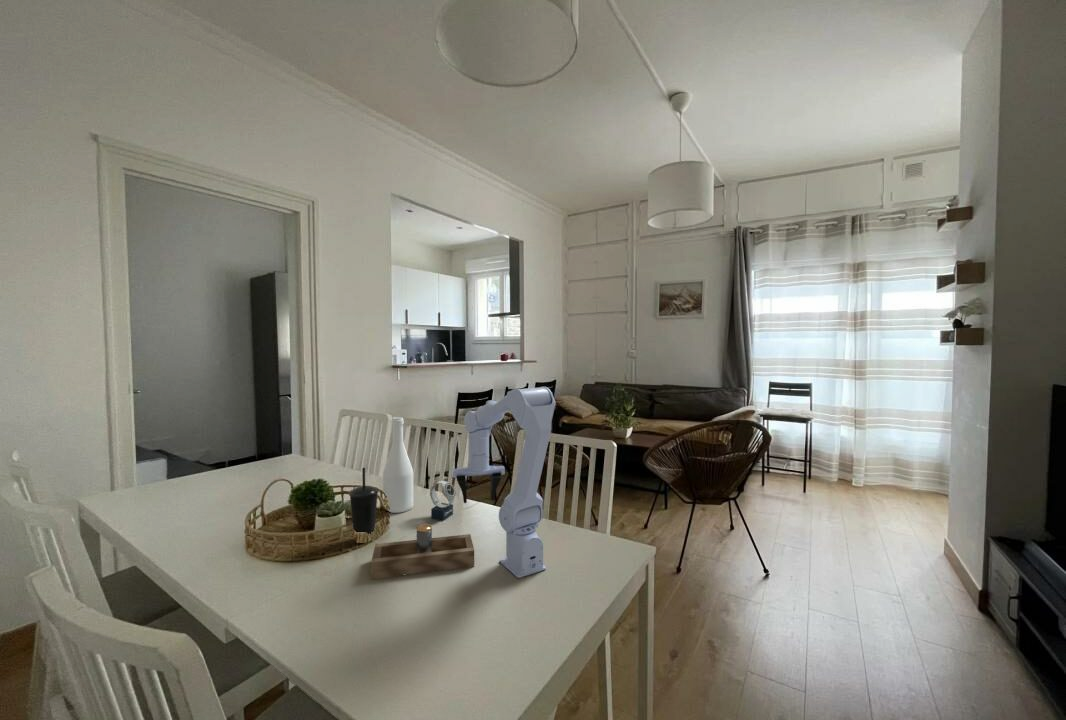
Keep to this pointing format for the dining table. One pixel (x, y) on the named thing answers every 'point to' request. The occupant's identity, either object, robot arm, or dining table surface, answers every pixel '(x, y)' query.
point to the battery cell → (424, 538)
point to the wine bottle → (398, 472)
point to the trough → (422, 556)
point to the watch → (442, 509)
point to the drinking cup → (364, 506)
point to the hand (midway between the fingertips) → (478, 500)
